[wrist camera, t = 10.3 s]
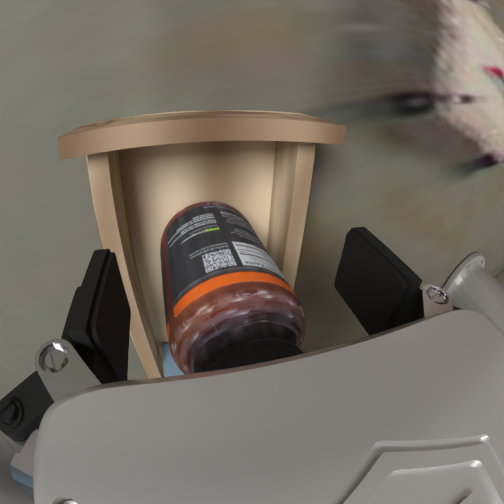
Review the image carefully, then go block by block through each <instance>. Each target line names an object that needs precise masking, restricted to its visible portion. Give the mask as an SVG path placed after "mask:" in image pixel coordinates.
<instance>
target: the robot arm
mask: <svg viewBox="0 0 504 504" xmlns="http://www.w3.org/2000/svg"><path fill="white" fill-rule="evenodd" d="M484 266H485V259H484V257H483V256H482V255H481V254H480V253H474V254H472V255H470V256H469V257H467V258H466V259H465V260H464V261H463V262H462V263H461V264H460V265H459V266H458V267H457V269H456V270H455V271H454V272H453V274H452V275H451V276H450V278H449V279H448V281H447V282H446V284H445V286H444V287H443V288H441V287H439V286H437V285H433V284H427V285H425V286H424V287H423V288H422V291H421V290H420V288H419V287H420V285H421V283H422V280H421V279H420V278H419V277H418V276H417V275H416V274H415V273H414V272H413V271H412V270H411V269H410V268H409V267H408V266H407V265H406V264H405V263H404V262H403V261H402V260H401V259H400V258H399V257H397V256H396V255H395V254H394V253H393V252H392V251H391V250H390V249H389V248H388V247H387V246H385V245H384V244H383V243H382V242H381V241H380V240H379V239H378V238H376V237H375V236H374V235H373V234H372V233H371V232H370V231H368V230H367V229H366V228H365V227H357V228H351V230H350V231H349V232H348V233H347V235H346V240H345V244H344V248H343V252H342V256H341V260H340V264H339V267H338V271H337V275H336V279H335V288H336V290H337V291H338V292H339V294H340V295H341V296H342V298H343V299H344V301H345V302H346V303H347V305H348V306H349V308H350V309H351V310H352V312H353V313H354V314H355V316H356V317H357V319H358V320H359V322H360V323H361V324H362V326H363V327H364V329H365V330H366V331H367V333H368V334H369V336H367V337H364V338H360V339H357V340H354V341H350V342H347V343H343V344H339V345H336V346H332V347H328V348H324V349H321V350H317V351H313V352H308V353H304V354H300V355H296V356H291V357H287V358H282V359H277V360H272V361H267V362H262V363H257V364H252V365H246V366H241V367H235V368H229V369H222V370H215V371H208V372H201V373H193V374H185V375H177V376H168V377H158V378H147V379H137V380H128V381H127V372H128V348H129V333H130V320H131V310H130V305H129V302H128V299H127V295H126V292H125V288H124V285H123V281H122V277H121V273H120V270H119V266H118V262H117V257H116V254H115V252H111V251H110V249H101V250H95V251H94V253H93V255H92V258H91V260H90V263H89V266H88V268H87V271H86V274H85V277H84V280H83V282H82V285H81V287H78V288H77V289H76V292H75V294H74V297H73V300H72V304H71V307H70V310H69V313H68V316H67V320H66V323H65V327H64V330H63V334H62V338H61V339H53V340H50V341H48V342H46V343H45V344H44V345H42V346H41V347H40V349H39V350H38V351H37V354H36V356H35V367H36V371H35V372H34V373H33V374H31V375H30V376H29V377H28V378H26V379H25V380H24V381H23V382H22V383H20V384H19V385H18V386H17V387H16V388H14V389H13V390H12V391H11V392H10V393H8V394H7V395H6V396H5V397H4V398H2V400H1V401H0V504H504V287H503V286H502V285H501V284H500V283H499V282H498V281H497V280H496V279H495V278H494V277H493V276H491V275H490V274H489V273H488V272H487V271H486V270H485V269H484Z"/></svg>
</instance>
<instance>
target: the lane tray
mask: <svg viewBox="0 0 504 504" xmlns="http://www.w3.org/2000/svg"><path fill="white" fill-rule="evenodd" d="M345 131H346V126H345V125H342V124H338V123H335V122H331V121H328V120H324V119H321V118H317V117H313V116H309V115H305V114H300V113H288V112H274V111H252V110H202V111H181V112H167V113H155V114H146V115H137V116H129V117H122V118H115V119H109V120H103V121H97V122H92V123H88V124H85V125H83V126H81V127H79V128H77V129H74V130H72V131H70V132H68V133H66V134H64V135H62V136H60V137H58V147H59V155H60V160H64V159H68V158H73V157H78V156H84V155H86V157H87V165H88V172H89V179H90V186H91V192H92V197H93V203H94V208H95V213H96V218H97V223H98V228H99V232H100V236H101V241H102V245H103V249H110V251H111V252H115V254H116V257H117V262H118V266H119V270H120V273H121V277H122V281H123V285H124V288H125V292H126V295H127V299H128V302H129V305H130V310H131V320H130V335H131V337H132V340H133V342H134V345H135V347H136V350H137V352H138V355H139V357H140V360H141V362H142V364H143V367H144V369H145V371H146V373H147V376H148V378H158V377H164V368H163V358H162V346H161V344H165V343H168V336H167V329H166V320H165V310H164V299H163V288H162V274H161V258H160V245H161V238H162V235H163V232H164V229H165V227H166V226H167V224H168V222H169V221H170V220H171V218H173V216H174V215H175V214H176V213H178V212H179V211H181V210H182V209H184V208H185V207H187V206H190V205H192V204H196V203H199V202H211V201H216V202H221V203H224V204H227V205H229V206H232V207H233V208H235V209H236V210H238V211H239V212H240V213H241V214H242V215H243V216H244V217H245V218H246V220H247V221H248V222H249V224H250V225H251V227H252V229H253V230H254V231H255V233H256V234H257V236H258V238H259V239H260V241H261V242H262V244H263V245H264V247H265V248H266V250H267V252H268V253H269V255H270V256H271V258H272V259H273V261H274V262H275V264H276V265H277V267H278V268H279V270H280V272H281V273H282V275H283V276H284V278H285V279H286V281H287V282H288V284H289V285H290V287H291V289H292V291H293V290H294V284H295V279H296V273H297V268H298V262H299V257H300V251H301V245H302V239H303V233H304V227H305V220H306V214H307V207H308V201H309V194H310V187H311V180H312V172H313V165H314V157H315V149H316V143H326V144H337V145H344V139H345Z"/></svg>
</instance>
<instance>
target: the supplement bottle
mask: <svg viewBox="0 0 504 504" xmlns="http://www.w3.org/2000/svg"><path fill="white" fill-rule="evenodd" d="M160 258H161V274H162V288H163V299H164V310H165V320H166V329H167V336H168V343H169V349H170V352H171V355H172V358H173V359H174V361H175V363H176V365H177V366H178V368H179V369H180V370H181V371H182V372H183V373H184V374H193V373H201V372H208V371H215V370H222V369H229V368H235V367H241V366H246V365H252V364H257V363H262V362H267V361H272V360H277V359H282V358H287V357H291V356H296V355H300V354H303V352H302V351H301V350H300V346H301V344H302V341H303V339H304V336H305V332H306V318H305V313H304V310H303V308H302V306H301V303H300V302H299V300H298V298H297V297H296V295H295V294H294V292H293V291H292V289H291V287H290V285H289V284H288V282H287V281H286V279H285V278H284V276H283V275H282V273H281V272H280V270H279V268H278V267H277V265H276V264H275V262H274V261H273V259H272V258H271V256H270V255H269V253H268V252H267V250H266V248H265V247H264V245H263V244H262V242H261V241H260V239H259V238H258V236H257V234H256V233H255V231H254V230H253V229H252V227H251V225H250V224H249V222H248V221H247V220H246V218H245V217H244V216H243V215H242V214H241V213H240V212H239V211H238V210H236V209H235V208H233V207H232V206H229V205H227V204H224V203H221V202H216V201H211V202H199V203H196V204H192V205H190V206H187V207H185V208H184V209H182V210H181V211H179V212H178V213H176V214H175V215H174V216H173V218H171V220H170V221H169V222H168V224H167V226H166V227H165V229H164V232H163V235H162V238H161V245H160Z"/></svg>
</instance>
